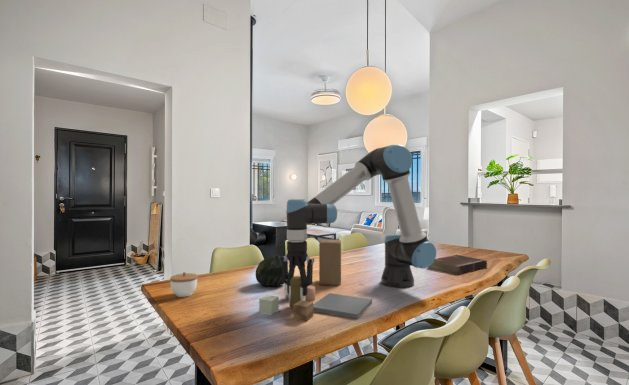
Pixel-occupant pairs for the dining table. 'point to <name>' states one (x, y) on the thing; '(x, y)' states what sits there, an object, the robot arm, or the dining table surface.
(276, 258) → the squash
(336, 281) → the wooden block
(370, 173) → the robot arm
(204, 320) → the dining table surface
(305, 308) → the walnut block
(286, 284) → the metal tin
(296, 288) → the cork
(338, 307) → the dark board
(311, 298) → the peach rounded capsule
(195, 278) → the lidded jar
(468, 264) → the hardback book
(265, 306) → the sage block
